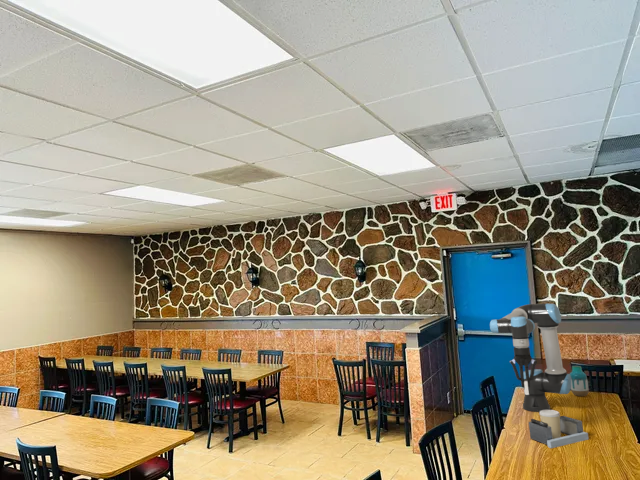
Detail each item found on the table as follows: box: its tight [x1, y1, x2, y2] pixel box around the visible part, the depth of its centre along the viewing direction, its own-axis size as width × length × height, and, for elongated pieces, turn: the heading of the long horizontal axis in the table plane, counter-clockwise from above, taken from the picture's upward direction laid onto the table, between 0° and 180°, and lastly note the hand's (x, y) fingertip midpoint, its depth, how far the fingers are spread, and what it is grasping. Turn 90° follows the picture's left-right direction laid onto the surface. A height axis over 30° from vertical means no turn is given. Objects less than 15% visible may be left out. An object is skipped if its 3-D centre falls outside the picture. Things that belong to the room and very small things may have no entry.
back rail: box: [546, 431, 589, 449], centre depth 210 cm, size 2×24×3 cm, turn 109°
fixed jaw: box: [560, 415, 584, 436], centre depth 220 cm, size 11×4×8 cm, turn 19°
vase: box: [569, 365, 590, 397], centre depth 291 cm, size 11×11×19 cm
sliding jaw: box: [528, 418, 553, 445], centre depth 214 cm, size 11×4×10 cm, turn 19°
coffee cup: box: [538, 409, 562, 439], centre depth 221 cm, size 9×9×12 cm
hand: (526, 394), depth 221 cm, fingers closed
